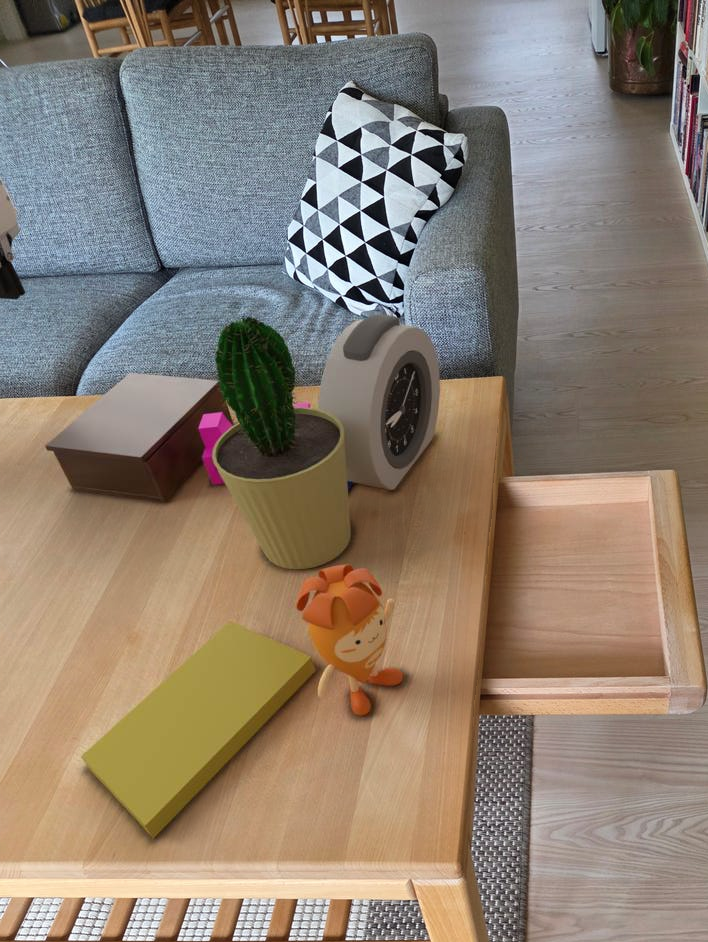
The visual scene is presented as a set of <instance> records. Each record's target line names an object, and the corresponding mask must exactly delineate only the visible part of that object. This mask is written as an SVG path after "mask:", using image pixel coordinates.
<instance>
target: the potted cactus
mask: <svg viewBox="0 0 708 942" xmlns="http://www.w3.org/2000/svg"><path fill="white" fill-rule="evenodd" d="M231 314H232V316H233V318H234V319H233V320H232V321H229V320H228V318H227V317H225V318H226V323H224V325H225V326H224V325H222V323H219V325H220V326H221V327H222V328H223V329H222V330H221V329H217V332H218V333H219V334H217V336H218V338H216V337H213V339H214V340H216V341H218V342H217V343H215V342H214V341H211V340H209V343H211V344H214V345H215V346H217V347H215V348H213V346H210V345H209V344H207V346H208V347H210V348H211V349H213V350H214V351H215V352H214V351H211V350H210V349H207V351H206V352H207V353H208V354H209V355H210V356H212V357H214V358H213V359H211V361H212V360H213V361H215V362H214V363H213V366H214V367H215V368H216V370H215V371H212V374H213V375H215V374H216V375H215V376H214V378H218V380H217V381H219V383H220V384H219V386H220V388H221V390H219V389H220V388H219V389H218V390H219V391H221V393H223V394H222V397H223V399H224V400H225V401H226V403H227V405H225V406H228V408H227V409H231V411H232V412H233V413H234V415H235V418H234V419H233V418H232V421H233V420H237V421H238V422H237V423H235V424H234V426H232V427H231V428H229V429H228V430H227V431H226V432H225V433H224V434H222V436H221V437H220V438H219V439H218V441H217V442H216V444H215V446H214V448H213V453H212V458H213V462H214V464H215V466H216V467H217V469H218V472H219V474H220V475H221V477H222V479H223V481H224V482H225V486H226V488H227V489H228V491H229V493H230V495H231V497H232V498H233V500H234V502H235V504H236V506H237V507H238V509H239V512H241V514H242V516H243V518H244V521H246V523H247V525H248V527H249V529H250V530H251V532H252V534H253V536H254V538H255V539H256V541H257V543H258V545H259V547H260V548H261V551H262V552H263V553H264V555H265V556H266V558H267V560H269V561H270V562H271V563H272V564H274V565H275V566H278V567H280V568H283V569H287V570H307V569H311V568H312V569H313V568H316V567H319V566H322V565H325V564H327V563H329V562H331V561H332V560H334V559H335V558H337V557H339V556H340V555H341V554H342V553H343V552H344V551H345V550H346V548H347V547H348V545H349V543H350V540H351V535H352V530H351V528H352V527H351V514H350V503H349V502H350V501H349V490H348V486H347V473H346V459H345V443H344V428H343V425H342V423H341V422H340V421H339V420H338V419H337V417H335V416H334V415H332V414H330V413H328V412H326V411H323V410H320V409H318V408H314V407H311V406H310V407H311V408H310V407H294V405H293V404H298V403H300V400H297V398H298V397H299V395H297V394H298V393H297V392H296V393H294V391H295V390H294V389H295V388H298V386H301V384H300V383H301V381H300V382H299V381H296V372H298V371H299V370H298V368H301V365H299V366H294V365H293V359H294V358H297V356H300V354H302V353H299V354H297V355H295V356H292V355H291V353H290V352H292V353H293V351H292V350H290V349H289V345H290V344H288V345H287V344H286V342H285V340H286V338H288V337H289V336H291V335H292V333H290V334H289V335H287V336H286V334H287V333H286V332H287V330H288V328H286V329H284V332H283V333H282V335H281V334H280V332H278V327H277V328H274V327H275V324H274V323H275V321H276V320H277V318H275V319H274V321H273V322H272V324H271V325H268V323H269V321H270V319H268V320H267V322H266V323H265V318H266V317H264V318H263V319H262V321H261V320H259V319H260V315H259V314H260V313H258V314H257V316H255V317H252V316H253V312H252V313H251V315H250V316H247V317H245V314H243V316H241V318H240V317H239V316H238V318H237V319H236V317H235V315H234V314H233V312H231ZM285 336H286V337H285ZM211 353H212V354H211ZM214 355H215V356H214ZM296 369H297V370H296ZM214 378H213V379H214ZM215 385H216V384H215ZM216 389H217V387H216ZM217 392H218V391H217ZM223 399H222V400H223ZM222 400H221V401H222ZM221 401H220V402H221ZM220 402H219V403H220ZM219 403H218V404H219ZM222 403H223V402H222ZM224 403H225V402H224ZM226 403H225V404H226ZM301 403H304V402H301ZM223 405H224V404H223ZM223 405H222V406H223ZM225 406H223V407H225ZM220 407H221V406H220ZM223 407H222V408H223ZM225 410H226V409H225ZM225 410H224V411H225ZM224 411H223V412H224Z"/></svg>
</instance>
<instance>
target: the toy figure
mask: <svg viewBox="0 0 708 942" xmlns="http://www.w3.org/2000/svg"><path fill="white" fill-rule="evenodd" d="M366 583H367V584H368V585H369V586H368V585H367V584H366ZM313 591H315V592H314V594H313V596H312V599H311V601H310V602H309V598H310V596H311V592H313ZM382 595H383V590H382V588H381V586H380V585H379V583H378V581H377V580H376V578H375V577H374V576H373V574H372V573H371V572H370V571H369V570H368V569H366V568H364V567H363V568H362V567H361V568H356V569H354V567H353V566H352V565H351V564H340V565H339V564H338V565H333V566H329V567H326V568H325V567H324V568H322V569H320V570H319V571H318V576H317V577H316V576H313V577H308V578H306V579H305V581H304V582H303V584H302V586H301V589H300V591H299V593H298V597H297V600H296V605H295V606H296V609H297V611H299V612H303V613H302V616H301V618H302V620H303V621H304V622H306V623H307V624H308V631H309V636H310V639H311V642H312V644H313V646H314V648H315V649H316V651H317V653H318V655H319V656H320V657H321V658H322V659H323V661H324V662H325V663H327V666H326V668H325V669H324V670H323V673H322V675H321V676H320V679H319V682H318V686H317V696H318V697H319V698H321V699H323V698H325V697H326V696H327V687H328V683H329V680H330V677H331V676H332V673H333V672H334V671H335V670H337V671H339V672H341V673H343V674H345V675H347V676H348V682H349V688H350V689H349V690H350V692H349V696H350V698H349V699H350V707H351V710H352V712H353V713H354V715H357V716H360V717H361V716H365V715H367V714H368V713H370V711H371V709H372V706H371V701H370V700H369V698H368V697H367V695H366V694H365V693H364V692H363V690H362V689H361V688H360V686H359V683H360V684H365V683H366V682H367V681H369V683H371V684H373V685H380V686H388V687H391V686H392V687H393V686H397V685H399V684H400V683H402V682H403V679H404V674H403V673H402V671H401V670H400V669H398V668H395V667H387V668H384V669H381V670H378V668H377V665H376V664H377V662H378V661H379V659H380V658H381V656H382V654H383V651H384V649H385V646H386V641H387V633H388V630H387V622H388V620H389V619H390V617H391V616H392V614H393V611H394V609H395V604H396V603H395V602H396V601H395V599H394V598H388V599H387V600H386V605H385V608H383V605H382V602H381V601H380V599H379V598H378V597H381V596H382ZM308 602H309V603H308ZM358 682H359V683H358Z"/></svg>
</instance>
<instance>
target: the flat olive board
mask: <svg viewBox="0 0 708 942" xmlns="http://www.w3.org/2000/svg"><path fill="white" fill-rule="evenodd" d="M316 671H317V669H316V667H315V664H314V660H313V658H312V656H310V655H308V654H306V653H303V652H302V651H299V650H297V649H295V648H292V647H290V646H288V645H286V644H284V643H281V642H279V641H277V640H274V639H272V638H270V637H268V636H265V635H263V634H260V633H258V632H256V631H254V630H252V629H250V628H247V627H245V626H243V625H240V624H238V623H235V622H234V621H231V620H229V621H228V622H227V623H226V624H225V625H224V626H223V627H221V629H220V630H218V631H217V632H216V633H215V634H214V635H213V636H212V637H211V638H209V639H208V640H207V641H206V642H205V643H204V644H203V645H202V646H201V647H200V648H198V649H197V650H196V651H195V652H194V653H193V654H192V655H190V657H188V659H187V660H186V661H184V662H183V663H182V664H181V665H180V666H179V667H178V668H177V669H175V670H174V671H173V672H172V673H171V674H170V675H169V676H168V677H167V678H165V680H163V681H162V682H161V683H160V684H159V685H158V686H156V687H155V689H153V690H152V691H151V692H150V693H149V694H147V696H146V697H145V698H143V699H142V700H141V701H140V702H139V703H138V704H137V705H136V706H135V707H133V709H131V710H130V711H129V712H128V713H127V714H126V715H125V716H124V717H123V718H122V719H120V720H119V721H118V722H117V723H116V724H115V725H114V726H113V727H111V729H109V730H108V731H107V732H106V733H105V734H104V735H103V736H102V737H100V739H98V740H97V741H96V742H95V743H94V744H93V745H92V746H91V747H89V748H88V749H87V750H86V751H85V752H84V753H82V755H80V758H81V759H82V761H83V762H84V764H85V765H86V767H87V768H88V769H89V770H90V772H91V773H92V774H93V775H94V776H95V777H96V778H97V779H98V780H99V782H100V783H101V784H102V785H103V786H104V787H105V788H106V789H107V790H108V791H109V792H110V793H111V794H112V796H113V797H115V799H116V800H117V801H118V802H119V803H120V804H121V805H122V806H123V808H124V809H126V810H127V812H128V813H129V814H130V815H131V816H132V817H133V818H134V820H136V822H138V823H139V825H140V826H141V827H142V828H143V829H144V830H145V831H146V832H147V833H148V834H149V835H150V836H151V837H152V839H155V838H156V836H157V835H159V834H160V832H161V831H162V830H163V829H164V828H166V826H167V825H168V824H169V823H170V822H171V821H172V820H174V818H175V817H176V816H177V815H178V814H179V813H180V812H181V811H182V810H183V809H184V808H185V807H186V806H187V804H189V802H191V801H192V799H193V798H194V797H195V796H196V795H198V793H199V792H200V791H201V790H202V789H203V788H204V787H205V786H206V785H207V784H208V783H209V782H210V781H211V780H212V779H213V778H214V777H215V776H216V775H217V773H218V772H219V771H221V769H223V767H224V766H225V765H226V764H228V762H229V761H230V760H231V759H232V758H233V757H234V756H235V755H236V754H237V753H238V752H239V751H240V750H241V749H242V748H243V747H244V745H246V744H247V743H248V741H249V740H251V738H252V737H253V736H255V734H256V733H257V732H259V730H260V729H261V728H262V727H263V726H264V725H265V724H266V723H267V722H268V721H269V720H270V719H271V717H273V715H274V714H276V712H277V711H279V709H280V708H281V707H282V706H284V705H285V703H286V702H287V701H288V700H289V699H290V698H291V697H292V696H293V695H294V694H295V693H296V692H297V691H298V690H299V689H300V688H301V686H303V684H304V683H306V682H307V681H308V679H309V678H310V677H311V676H312V675H313V674H314V673H315V672H316Z"/></svg>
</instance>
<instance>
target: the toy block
mask: <svg viewBox="0 0 708 942" xmlns="http://www.w3.org/2000/svg"><path fill="white" fill-rule="evenodd" d="M297 403H298V404H296V403H294V405H293V407H310V408H312V407H311V404H310V403H311V402H310V401H307V402H303V403H302V402H297ZM232 426H233V425H232V424H231V423H230V422H229V421H228V420H227V419H226V417H225V416H224V414H223V413H222V412H219V413H210V414H203V417H202V420H201V422H200V425H199V428H198V430H199V432H200V435H201V437H202V440H203V443H204V445H205V450H204V453H203V456H202V459H203V461H202V463H203V464H204V467H205V469H206V472H207V474H208V477H209V480H210V482H211V484H212V485H223V484H225V482H224V481H223V479H222V477H221V475H220V474H219V472H218V469H217V467H216V466H215V464H214V462H213V458H212V453H213V448H214V446H215V444H216V442H217V441H218V439H219V438H220V437H221V436H222V434H224V433H225V432H226V431H227V430H228V429H229V428H231V427H232ZM225 485H226V484H225Z"/></svg>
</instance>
